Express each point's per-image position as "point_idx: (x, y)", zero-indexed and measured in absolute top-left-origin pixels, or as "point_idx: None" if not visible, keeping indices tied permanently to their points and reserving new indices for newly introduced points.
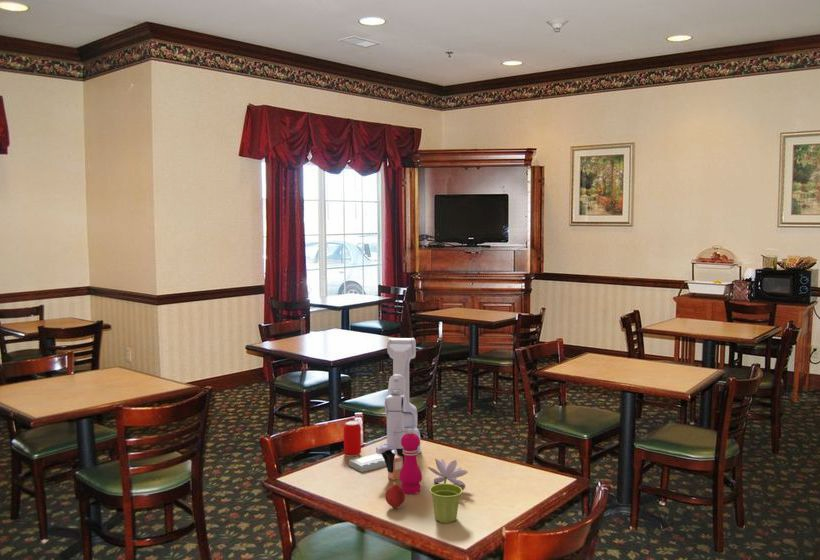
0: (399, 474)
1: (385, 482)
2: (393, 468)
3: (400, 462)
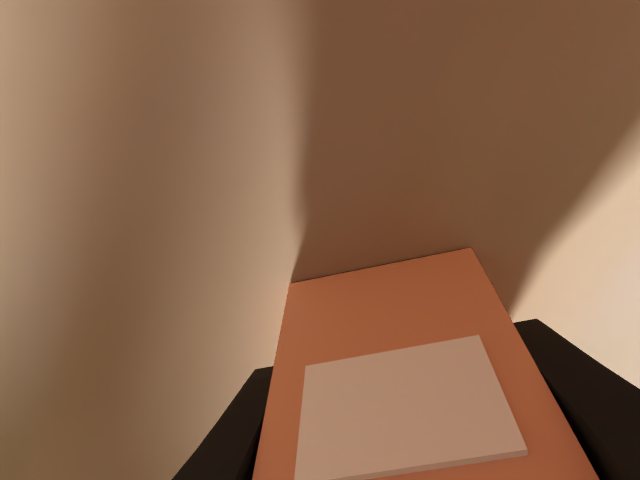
0: (358, 299)
1: (629, 215)
2: (528, 355)
3: (337, 454)
